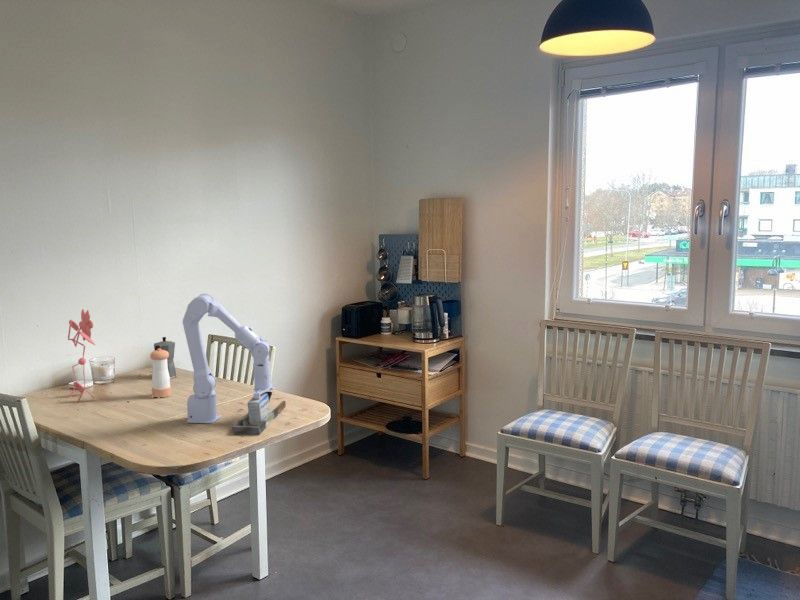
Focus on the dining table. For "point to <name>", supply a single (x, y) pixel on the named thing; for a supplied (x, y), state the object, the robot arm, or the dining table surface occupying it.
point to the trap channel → (253, 430)
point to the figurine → (86, 333)
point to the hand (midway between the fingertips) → (264, 412)
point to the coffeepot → (169, 347)
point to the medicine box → (258, 409)
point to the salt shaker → (160, 374)
